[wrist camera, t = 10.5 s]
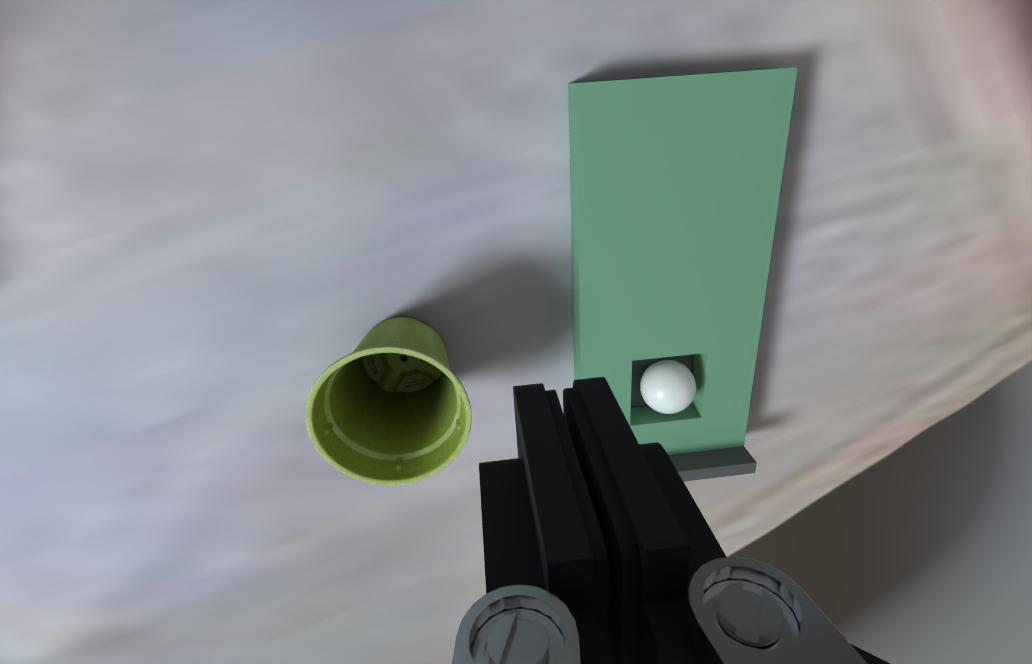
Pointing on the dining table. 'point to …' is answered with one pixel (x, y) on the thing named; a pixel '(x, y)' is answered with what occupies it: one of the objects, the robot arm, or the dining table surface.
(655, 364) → the ball
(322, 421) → the plant pot
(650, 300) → the green
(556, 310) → the dining table surface
